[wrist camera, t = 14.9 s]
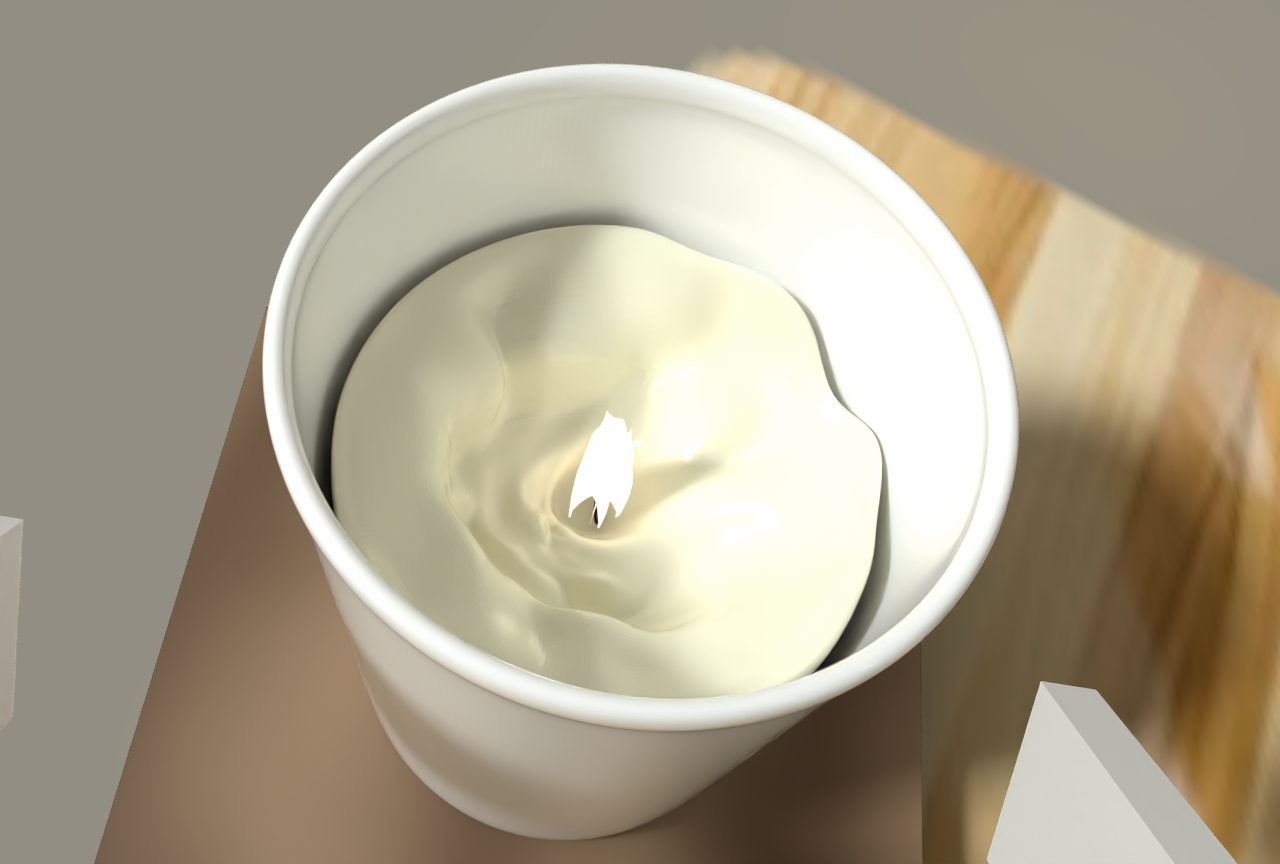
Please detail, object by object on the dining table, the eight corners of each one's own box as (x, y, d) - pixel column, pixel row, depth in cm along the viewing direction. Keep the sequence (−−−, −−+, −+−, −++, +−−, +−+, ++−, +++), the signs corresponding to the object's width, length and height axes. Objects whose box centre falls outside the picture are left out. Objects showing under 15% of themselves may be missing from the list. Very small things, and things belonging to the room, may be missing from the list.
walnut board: (891, 455, 32) (918, 419, 30) (889, 1051, 25) (923, 1049, 23) (275, 351, 31) (266, 306, 29) (96, 951, 24) (70, 939, 22)
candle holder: (660, 384, 30) (790, -3, 19) (869, 754, 26) (1171, 528, 16) (261, 530, 26) (153, 159, 16) (438, 977, 23) (452, 882, 12)
